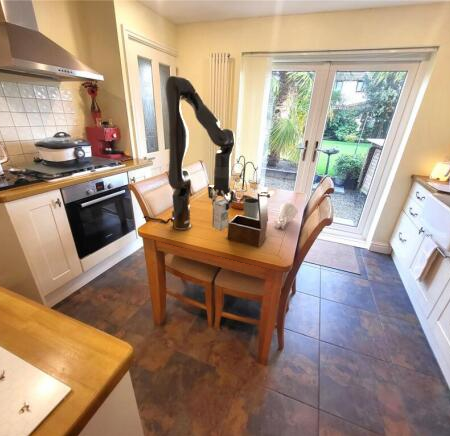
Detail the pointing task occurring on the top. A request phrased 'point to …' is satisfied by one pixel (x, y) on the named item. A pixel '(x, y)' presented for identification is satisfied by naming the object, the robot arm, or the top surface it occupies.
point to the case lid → (263, 206)
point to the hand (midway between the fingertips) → (220, 208)
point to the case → (246, 230)
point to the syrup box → (220, 215)
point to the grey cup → (250, 207)
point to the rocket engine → (286, 214)
